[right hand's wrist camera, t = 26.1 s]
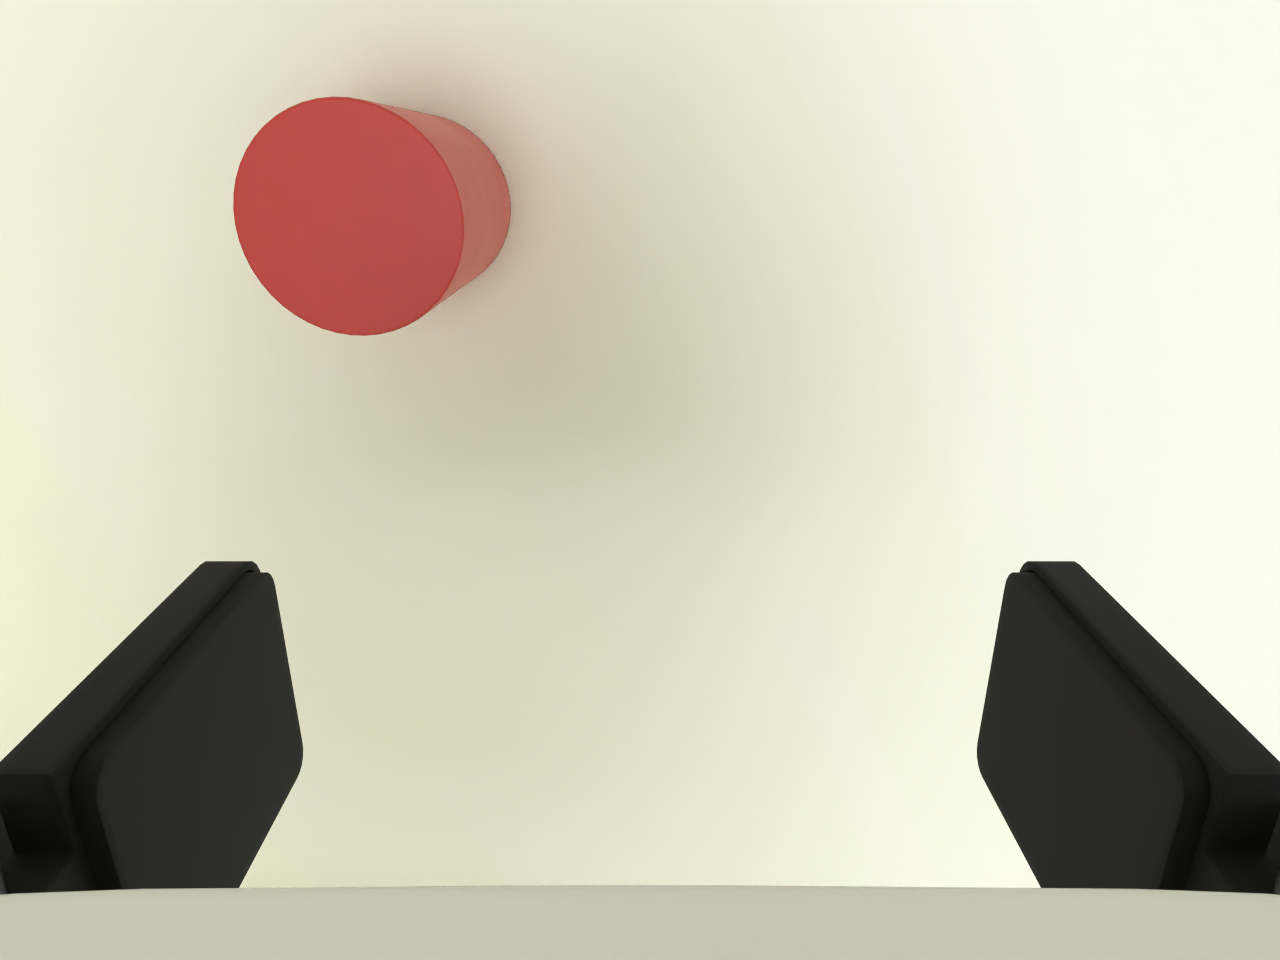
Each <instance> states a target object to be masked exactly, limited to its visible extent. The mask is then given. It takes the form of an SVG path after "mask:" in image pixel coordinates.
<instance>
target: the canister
mask: <svg viewBox="0 0 1280 960" xmlns="http://www.w3.org/2000/svg"><path fill="white" fill-rule="evenodd" d="M234 218H235V226H236V230H237V234H238V238H239V241H240V244H241V247H242V249H243V252H244V255H245V257H246V259H247V261H248V263H249V265H250V267H251V269H252V270H253V272H254V273H255V275H256V276H257V278H258V279H259V281H260V282H261V283H262V285H263V286H264V287H265V288H266V289H267V291H268V292H269V293H270V294H271V295H272V296H273V297H274V298H275V299H276V300H277V301H278V302H279V303H280V304H281V305H283V306H284V307H285V308H287V309H288V310H289V311H291V312H292V313H293V314H295V315H296V316H298V317H300V318H301V319H303V320H305V321H307V322H308V323H311V324H313V325H315V326H318V327H320V328H322V329H326V330H329V331H332V332H336V333H341V334H347V335H363V336H366V335H376V334H382V333H387V332H391V331H394V330H397V329H400V328H402V327H405V326H407V325H409V324H411V323H412V322H414V321H416V320H418V319H419V318H421V317H422V316H423V315H425V314H426V313H427V312H429V311H430V310H432V309H433V308H434V307H436V306H437V305H438V304H440V303H441V302H443V301H444V300H445V299H447V298H448V297H449V296H451V295H452V294H453V293H455V292H456V291H458V290H459V289H460V288H462V287H463V286H464V285H466V284H467V283H469V282H470V281H471V280H473V279H474V278H475V277H477V276H478V275H479V274H481V273H482V272H483V271H484V270H485V269H486V268H487V267H488V266H489V265H490V264H491V263H492V262H493V260H494V259H495V258H496V256H497V255H498V253H499V251H500V250H501V248H502V246H503V243H504V241H505V238H506V236H507V232H508V228H509V222H510V197H509V190H508V187H507V183H506V179H505V177H504V174H503V172H502V169H501V167H500V165H499V164H498V162H497V160H496V158H495V157H494V155H493V154H492V153H491V151H490V150H489V149H488V147H487V146H486V145H485V144H484V143H483V142H482V141H481V140H480V139H479V138H478V137H477V136H475V135H474V134H473V133H472V132H471V131H469V130H467V129H466V128H464V127H463V126H461V125H459V124H457V123H455V122H453V121H451V120H448V119H445V118H442V117H438V116H434V115H429V114H424V113H420V112H415V111H411V110H406V109H402V108H397V107H393V106H388V105H383V104H379V103H374V102H370V101H365V100H360V99H354V98H349V97H325V98H316V99H313V100H309V101H305V102H301V103H299V104H297V105H294V106H292V107H290V108H288V109H286V110H284V111H283V112H281V113H279V114H278V115H276V116H275V117H274V118H273V119H271V120H270V121H269V122H268V123H267V124H265V125H264V126H263V128H262V129H261V130H260V131H259V132H258V133H257V134H256V136H255V137H254V138H253V140H252V141H251V143H250V145H249V146H248V148H247V149H246V151H245V154H244V156H243V158H242V160H241V163H240V166H239V169H238V173H237V176H236V181H235V188H234Z"/></svg>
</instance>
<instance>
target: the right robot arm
mask: <svg viewBox="0 0 1280 960" xmlns="http://www.w3.org/2000/svg"><path fill="white" fill-rule="evenodd" d="M302 759H303V744H302V738H301V732H300V727H299V721H298V715H297V709H296V704H295V698H294V692H293V686H292V681H291V675H290V669H289V663H288V658H287V652H286V646H285V641H284V635H283V629H282V623H281V618H280V612H279V606H278V600H277V595H276V589H275V584H274V580H273V578H272V576H271V575H270V574H269V573H261V572H260V570H259V568H258V566H257V565H256V564H255V563H254V562H253V561H206V562H204V563H202V564H201V565H200V566H199V567H198V568H197V569H196V570H195V571H194V572H193V573H192V574H191V575H190V576H189V577H187V578H186V579H185V580H184V581H183V582H182V583H181V584H180V585H179V586H178V587H177V588H176V589H175V590H174V591H173V592H172V593H171V594H170V595H169V596H168V597H167V598H166V599H165V600H164V601H163V602H162V603H161V604H160V605H159V606H158V607H157V608H156V609H155V610H154V611H153V612H152V613H151V614H150V615H149V616H148V617H147V618H146V619H145V620H144V621H143V622H142V623H141V624H140V625H139V626H138V627H137V628H136V629H135V630H134V631H133V632H132V633H131V634H130V635H129V636H128V637H127V638H126V639H125V640H124V641H123V642H122V643H120V644H119V645H118V646H117V647H116V648H115V649H114V650H113V651H112V652H111V653H110V654H109V655H108V656H107V657H106V658H105V659H104V660H103V661H102V662H101V663H100V664H99V665H98V666H97V667H96V668H95V669H94V670H93V671H92V672H91V673H90V674H89V675H88V676H87V677H86V678H85V679H84V680H83V681H82V682H81V683H80V684H79V685H78V686H77V687H76V688H75V689H74V690H73V691H72V692H71V693H70V694H69V695H68V696H67V697H66V698H65V699H64V700H63V701H62V702H61V703H60V704H59V705H58V706H57V707H56V708H55V709H53V710H52V711H51V712H50V713H49V714H48V715H47V716H46V717H45V718H44V719H43V720H42V721H41V722H40V723H39V724H38V725H37V726H36V727H35V728H34V729H33V730H32V731H31V732H30V733H29V734H28V735H27V736H26V737H25V738H24V739H23V740H22V741H21V742H20V743H19V744H18V745H17V746H16V747H15V748H14V749H13V750H12V751H11V752H10V753H9V754H8V755H7V756H6V757H5V758H4V759H3V760H2V761H1V762H0V960H1280V762H1279V761H1278V760H1277V759H1276V758H1275V757H1274V756H1273V755H1272V754H1271V753H1270V752H1269V751H1268V750H1267V749H1266V748H1265V747H1264V746H1263V745H1262V744H1261V743H1260V742H1259V741H1258V740H1257V739H1256V738H1255V737H1254V736H1253V735H1252V734H1251V733H1250V732H1249V731H1248V730H1247V729H1246V728H1245V727H1244V726H1243V725H1242V724H1241V723H1240V722H1239V721H1238V720H1237V719H1236V718H1235V717H1234V716H1233V715H1232V714H1231V713H1230V712H1229V711H1228V710H1227V709H1225V708H1224V707H1223V706H1222V705H1221V704H1220V703H1219V702H1218V701H1217V700H1216V699H1215V698H1214V697H1213V696H1212V695H1211V694H1210V693H1209V692H1208V691H1207V690H1206V689H1205V688H1204V687H1203V686H1202V685H1201V684H1200V683H1199V682H1198V681H1197V680H1196V679H1195V678H1194V677H1193V676H1192V675H1191V674H1190V673H1189V672H1188V671H1187V670H1186V669H1185V668H1184V667H1183V666H1182V665H1181V664H1180V663H1179V662H1178V661H1177V660H1176V659H1175V658H1174V657H1173V656H1172V655H1171V654H1170V653H1169V652H1168V651H1167V650H1166V649H1165V648H1164V647H1163V646H1162V645H1161V644H1160V643H1158V642H1157V641H1156V640H1155V639H1154V638H1153V637H1152V636H1151V635H1150V634H1149V633H1148V632H1147V631H1146V630H1145V629H1144V628H1143V627H1142V626H1141V625H1140V624H1139V623H1138V622H1137V621H1136V620H1135V619H1134V618H1133V617H1132V616H1131V615H1130V614H1129V613H1128V612H1127V611H1126V610H1125V609H1124V608H1123V607H1122V606H1121V605H1120V604H1119V603H1118V602H1117V601H1116V600H1115V599H1114V598H1113V597H1112V596H1111V595H1110V594H1109V593H1108V592H1107V591H1106V590H1105V589H1104V588H1103V587H1102V586H1101V585H1100V584H1099V583H1098V582H1097V581H1096V580H1095V579H1094V578H1092V577H1091V576H1090V575H1089V574H1088V573H1087V572H1086V571H1085V570H1084V569H1083V568H1082V567H1081V566H1080V565H1079V564H1078V563H1076V562H1074V561H1027V562H1026V563H1025V564H1024V565H1023V566H1022V568H1021V570H1020V572H1019V573H1011V574H1010V575H1009V576H1008V578H1007V580H1006V584H1005V589H1004V595H1003V600H1002V606H1001V612H1000V618H999V623H998V629H997V635H996V640H995V646H994V652H993V658H992V663H991V669H990V675H989V681H988V686H987V692H986V698H985V704H984V709H983V715H982V721H981V727H980V732H979V738H978V744H977V759H978V765H979V769H980V772H981V775H982V777H983V779H984V781H985V783H986V785H987V787H988V789H989V790H990V792H991V794H992V796H993V798H994V800H995V802H996V804H997V805H998V807H999V809H1000V811H1001V813H1002V815H1003V817H1004V819H1005V821H1006V822H1007V824H1008V826H1009V828H1010V830H1011V832H1012V834H1013V836H1014V838H1015V839H1016V841H1017V843H1018V845H1019V847H1020V849H1021V851H1022V853H1023V854H1024V856H1025V858H1026V860H1027V862H1028V864H1029V866H1030V868H1031V870H1032V871H1033V873H1034V875H1035V877H1036V879H1037V881H1038V883H1039V885H1040V887H1041V888H969V887H846V886H423V887H311V888H239V886H240V885H241V883H242V881H243V879H244V877H245V875H246V873H247V871H248V870H249V868H250V866H251V864H252V862H253V860H254V858H255V856H256V854H257V853H258V851H259V849H260V847H261V845H262V843H263V841H264V839H265V837H266V836H267V834H268V832H269V830H270V828H271V826H272V824H273V822H274V821H275V819H276V817H277V815H278V813H279V811H280V809H281V807H282V805H283V804H284V802H285V800H286V798H287V796H288V794H289V792H290V790H291V789H292V787H293V785H294V783H295V781H296V779H297V777H298V775H299V772H300V769H301V765H302Z"/></svg>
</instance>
